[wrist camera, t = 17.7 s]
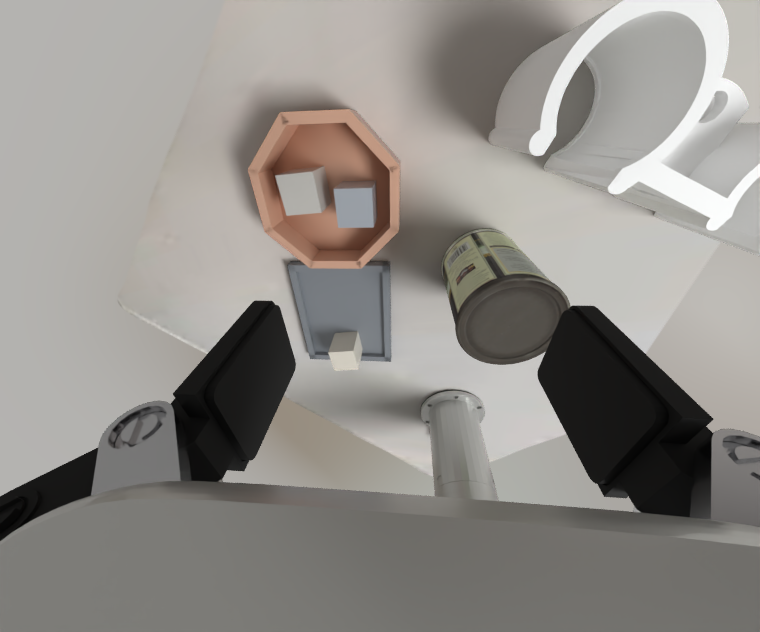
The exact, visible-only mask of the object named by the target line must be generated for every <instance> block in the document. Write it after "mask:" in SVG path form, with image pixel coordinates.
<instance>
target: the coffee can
mask: <svg viewBox="0 0 760 632" xmlns="http://www.w3.org/2000/svg"><path fill="white" fill-rule="evenodd" d="M441 271H442V277H443V280H444V282H445V286H446V290H447V294H448V298H449V302H450V306H451V310H452V313H453V317H454V321H455V325H456V326H455V329H456V335H457V339H458V342H459V344H460V346H461V347H462V348H463V350H464V351H465V352H466V353H467V354H469V355H470V356H471V357H473V358H475V359H477V360H479V361H482V362H485V363H490V364H498V365H506V364H515V363H519V362H523V361H527V360H530V359H532V358H534V357H536V356H538V355H540V354H542V353H544V352H546V350H547V348H548V346H549V343H550V341H551V339H552V336H553V334H554V332H555V329H556V327H557V324H558V322H559V320H560V317H561V315H562V313H563V312H564V311H565V310H568V309H569V308H570V303H569V300H568V298H567V296H566V295H565V294H564V292H563V291H562V290H561V289H560V288H559V287H558V286H557V285H555V284H554V283H552V282H551V281H550V280H549V279H548V278H547V277H546V276H545V275H544V274H543V273H542V272H541V271H540V270H539V269H538V267H537V266H536V265H535V264H534V263H533V262H532V261H531V260H530V259H529V258H528V257H527V256H526V255H525V254H524V253H523V252H522V251H521V250H520V249H519V248H518V247H517V245H516V244H515V243H514V241H513V240H512V239H511V238H510V237H509V236H507V235H506V234H504V233H503V232H500V231H498V230H494V229H478V230H474V231H471V232H468V233H466V234H464V235H462V236H461V237H459V238H458V239H457V240H456V241H455V242H454V243H453V244H452V245H451V246H450V247H449V248H448V250H447V251H446V253H445V255H444V258H443V260H442V266H441Z"/></svg>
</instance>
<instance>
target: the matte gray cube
mask: <svg viewBox="0 0 760 632" xmlns="http://www.w3.org/2000/svg"><path fill="white" fill-rule="evenodd" d="M334 197H335V206H336V214H337V222H338V228H372V227H374V225H375V222H376V219H377V216H378V214H377V188H376V180H371V181H342V182H341V183H340V184H339V185H337V186H336V187H335V188H334Z"/></svg>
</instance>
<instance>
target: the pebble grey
mask: <svg viewBox="0 0 760 632" xmlns="http://www.w3.org/2000/svg"><path fill="white" fill-rule="evenodd" d="M275 177H276V181H277V184H278V187H279V191H280V194H281V198H282V201H283V205H284V208H285V212H286V215H287V216H290V215H301V214H312V213H322V212H323V211H324V210H325V209H326V208H327V207H328V206H329V205H330V204H331V197H330V192H329V187H328V182H327V177H326V171H325V166H318V167H309V168H300V169H291V170H289V171H286V172H283V173H281V174H278V175H275Z"/></svg>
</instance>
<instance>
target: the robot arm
mask: <svg viewBox="0 0 760 632" xmlns="http://www.w3.org/2000/svg"><path fill="white" fill-rule="evenodd" d="M295 366H296V363H295V359H294V355H293V352H292V348H291V345H290V341H289V338H288V334H287V331H286V327H285V324H284V320H283V317H282V313H281V310H280V307H279V306H278V305H275V304H274V302H272V301H254V302H253V303H252V304H251V305H250V306H249V307H248V308H247V309H246V311H245V312H244V313H243V314H242V315H241V316H240V317H239V319H238V320H237V321H236V322H235V323H234V324H233V325H232V327H231V328H230V329H229V330H228V331H227V332H226V333H225V335H224V336H223V337H222V338H221V339H220V340H219V342H218V343H217V344H216V345H215V346H214V347H213V348H212V350H211V351H210V352H209V353H208V354H207V355H206V357H205V358H204V359H203V360H202V361H201V362H200V363H199V364H198V366H197V367H196V368H195V369H194V370H193V371H192V372H191V374H190V375H189V376H188V377H187V378H186V379H185V380H184V382H183V383H182V384H181V385H180V386H179V387H178V389H177V390H176V391H175V392H174V393H173V395H174V396H175V399H174V401H173V402H172V403H171V404H169V403H168V402H164V401H153V402H148V403H145V404H142V405H139V406H137V407H135V408H133V409H131V410H129V411H127V412H126V413H124V414H123V415H122V416H120V417H118V418H117V419H116V420H115V421H114V422H113V423H112V424H111V425H110V426H109V427H108V428H107V429H106V431H105V432H104V433H103V435H102V437H101V440H100V442H99V447H98V448H96V449H94V450H92V451H90V452H88V453H86V454H84V455H82V456H80V457H78V458H76V459H74V460H72V461H70V462H68V463H66V464H64V465H62V466H60V467H58V468H56V469H54V470H52V471H50V472H48V473H46V474H44V475H42V476H40V477H38V478H36V479H34V480H31V481H29V482H28V483H26V484H24V485H21V486H20V487H17V488H15V489H14V490H11V491H9V492H8V493H6V494H4V495H2V496H0V632H760V437H759V436H756V435H753V434H750V433H748V432H744V431H740V430H734V429H720V430H718V431H716V432H714V433H712V432H711V431H710V430H709V429H708V428H707V427H706V426H707V425H708V424H709V423H710V422H711V421H712V420H713V418H712V417H711V416H710V415H709V414H707V412H705V410H703V409H702V408H701V407H700V406H699V405H698V404H697V403H696V402H695V401H694V400H693V399H692V398H691V397H690V396H689V395H688V394H687V393H686V392H685V391H684V390H682V389H681V388H680V387H679V386H678V385H677V384H676V383H675V382H674V381H673V380H672V379H671V378H670V377H669V376H668V375H667V374H666V373H665V372H664V371H663V370H662V369H660V368H659V367H658V366H657V365H656V364H655V363H654V362H653V361H652V360H651V359H650V358H649V357H648V356H647V355H646V354H645V353H644V352H643V351H642V350H641V349H640V348H638V347H637V346H636V345H635V344H634V343H633V342H632V341H631V340H630V339H629V338H628V337H627V336H626V335H625V334H624V333H623V332H622V331H621V330H620V329H619V328H617V327H616V326H615V325H614V324H613V323H612V322H611V321H610V320H609V319H608V318H607V317H606V316H605V315H604V314H603V313H602V312H601V311H600V310H599V309H598V308H596V307H595V306H571V307H570V308H569V309H568V310H565V311H564V312H563V313H562V315H561V317H560V320H559V322H558V324H557V327H556V329H555V332H554V334H553V336H552V339H551V341H550V343H549V346H548V348H547V350H546V353H545V355H544V357H543V360H542V362H541V364H540V367H539V369H538V379H539V382H540V384H541V386H542V387H543V389H544V391H545V393H546V395H547V397H548V399H549V401H550V403H551V405H552V407H553V409H554V410H555V412H556V414H557V416H558V418H559V420H560V422H561V424H562V426H563V428H564V430H565V432H566V434H567V435H568V437H569V439H570V441H571V443H572V445H573V447H574V449H575V451H576V453H577V454H578V457H579V458H580V460H581V462H582V464H583V466H584V468H585V470H586V472H587V474H588V476H589V477H590V479H591V480H592V481H593V482H595V483H597V484H598V486H599V488H600V489H601V491H602V493H603V495H604V497H617V498H627V497H628V496H629V498H630V499H631V501H632V503H633V504H634V510H633V512H627V511H614V510H603V509H589V508H577V507H565V506H552V505H540V504H527V503H514V502H501V501H499V500H498V496H497V492H496V488H495V484H494V480H493V476H492V472H491V468H490V464H489V460H488V456H487V452H486V448H485V444H484V439H483V435H482V431H481V427H480V423H481V421H482V420H483V418H484V416H485V409H484V406H483V403H482V402H481V400H480V399H478V398H477V397H476V396H474V395H472V394H469V393H467V392H462V391H445V392H440V393H437V394H435V395H433V396H431V397H429V398H428V399H427V400H426V401H425V402H424V403H423V405H422V407H421V418H422V420H423V422H424V423H425V424H426V425H427V426H429V427H430V438H431V451H432V464H433V477H434V490H435V496H421V495H407V494H393V493H380V492H366V491H351V490H337V489H323V488H307V487H294V486H279V485H265V484H246V483H226V482H223V480H222V478H223V477H224V475H225V473H226V471H227V470H233V471H244V470H245V468H246V466H247V464H248V462H249V460H253V459H254V458H255V456H256V454H257V452H258V450H259V448H260V446H261V444H262V441H263V439H264V437H265V435H266V433H267V430H268V428H269V426H270V424H271V421H272V419H273V417H274V415H275V413H276V411H277V408H278V406H279V404H280V402H281V400H282V397H283V395H284V393H285V391H286V389H287V387H288V384H289V382H290V380H291V378H292V376H293V373H294V371H295Z"/></svg>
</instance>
